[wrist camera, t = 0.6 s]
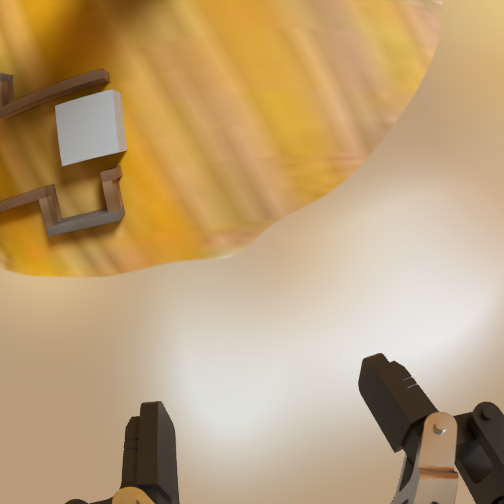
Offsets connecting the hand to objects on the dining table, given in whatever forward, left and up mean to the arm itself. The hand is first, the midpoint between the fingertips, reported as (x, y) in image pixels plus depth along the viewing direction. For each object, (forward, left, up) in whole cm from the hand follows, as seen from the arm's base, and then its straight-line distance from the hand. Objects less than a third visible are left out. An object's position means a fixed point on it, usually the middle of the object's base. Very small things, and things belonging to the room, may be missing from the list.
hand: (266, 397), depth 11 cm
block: (-12, -11, -23) cm, 29 cm away
